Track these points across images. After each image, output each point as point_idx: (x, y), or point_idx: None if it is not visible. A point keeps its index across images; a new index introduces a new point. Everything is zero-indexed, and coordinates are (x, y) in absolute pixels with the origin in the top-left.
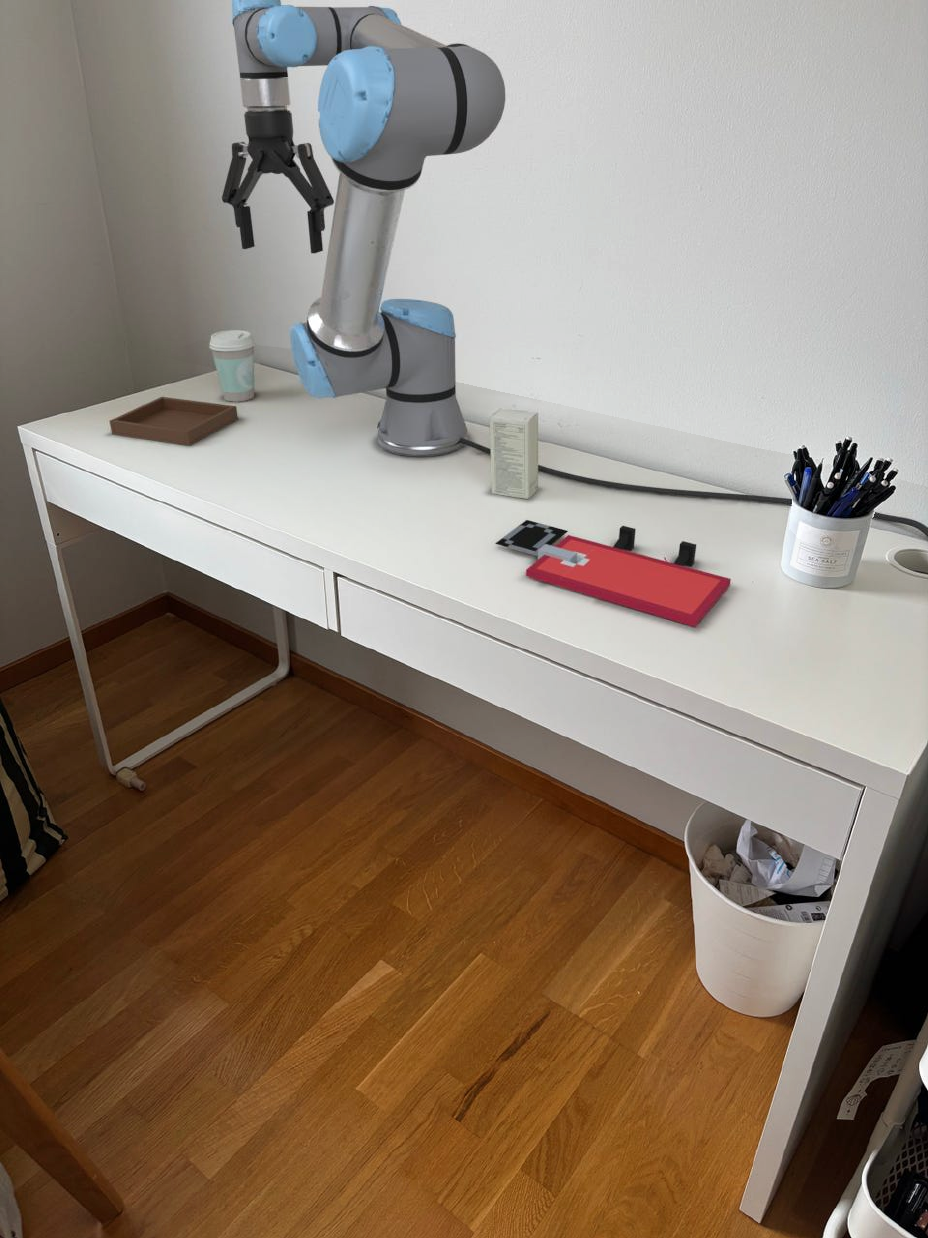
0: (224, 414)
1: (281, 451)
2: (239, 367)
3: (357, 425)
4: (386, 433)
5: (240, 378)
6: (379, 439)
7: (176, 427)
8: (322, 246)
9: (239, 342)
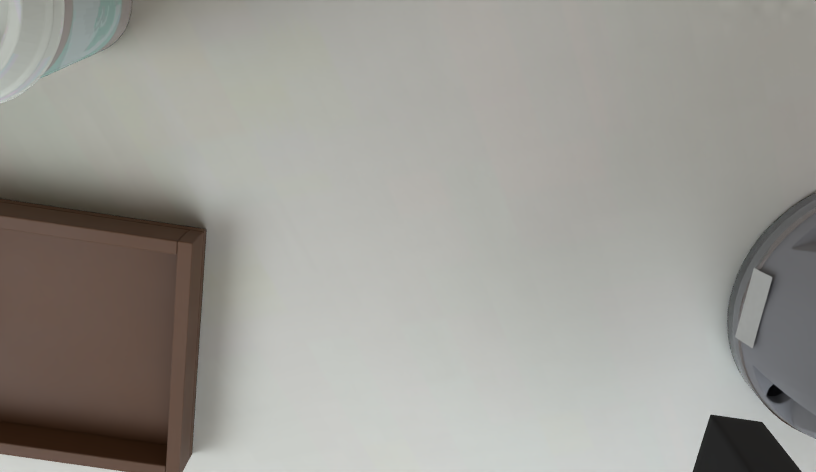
0: (190, 307)
1: (463, 445)
2: (65, 63)
3: (623, 206)
4: (785, 403)
5: (83, 55)
6: (749, 383)
7: (73, 355)
8: (783, 453)
9: (19, 66)
